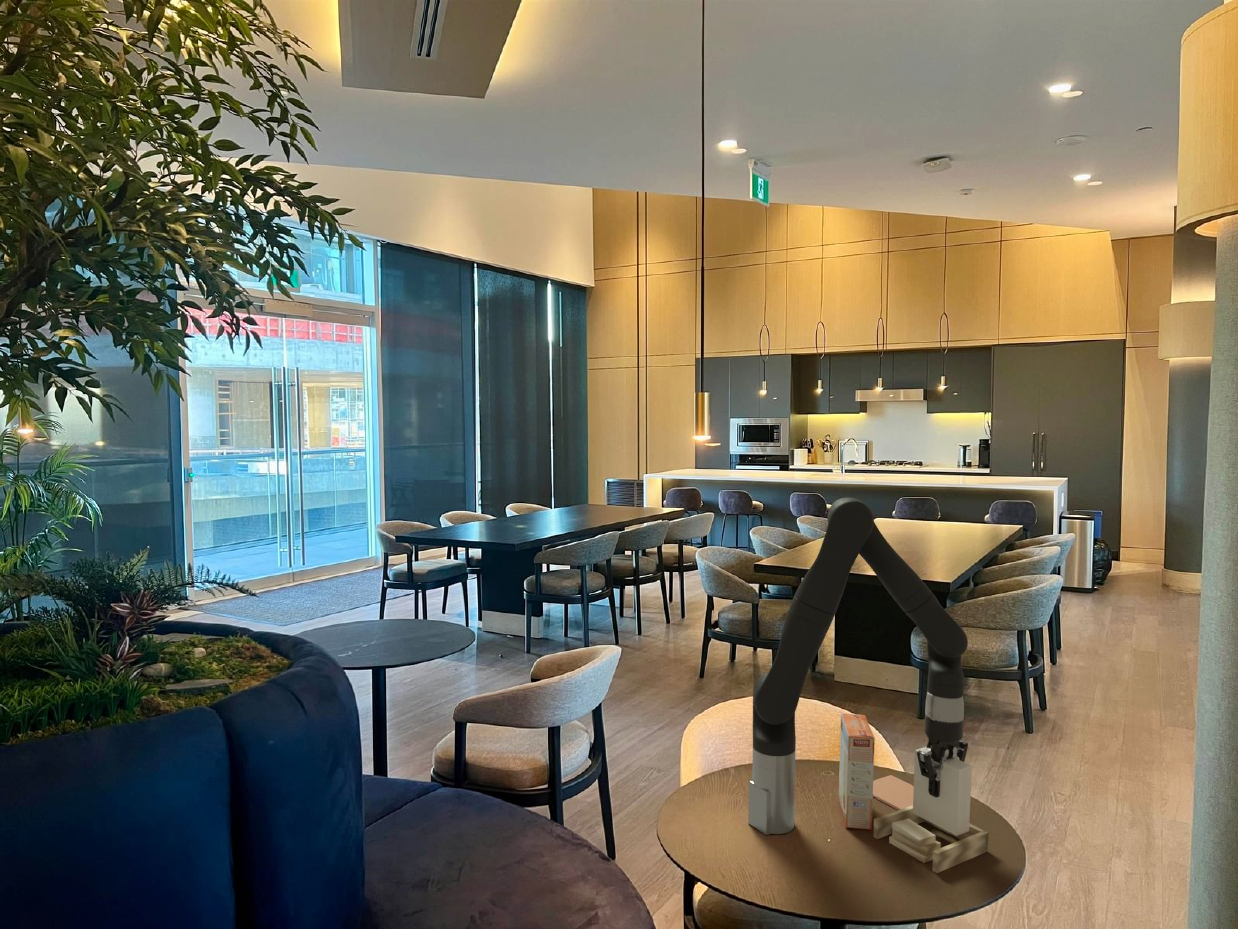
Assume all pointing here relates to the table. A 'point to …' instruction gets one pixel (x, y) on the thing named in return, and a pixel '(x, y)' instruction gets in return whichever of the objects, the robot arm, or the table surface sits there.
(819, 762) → the table surface
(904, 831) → the offcut stack
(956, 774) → the white block
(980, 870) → the table surface
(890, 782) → the terracotta tile
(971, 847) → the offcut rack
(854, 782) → the cracker box
